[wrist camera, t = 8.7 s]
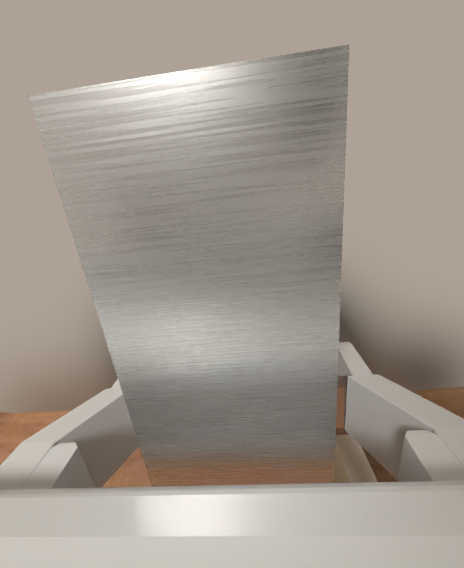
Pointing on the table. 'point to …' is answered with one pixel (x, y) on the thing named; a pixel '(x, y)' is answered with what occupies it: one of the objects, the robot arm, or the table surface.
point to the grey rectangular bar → (214, 257)
